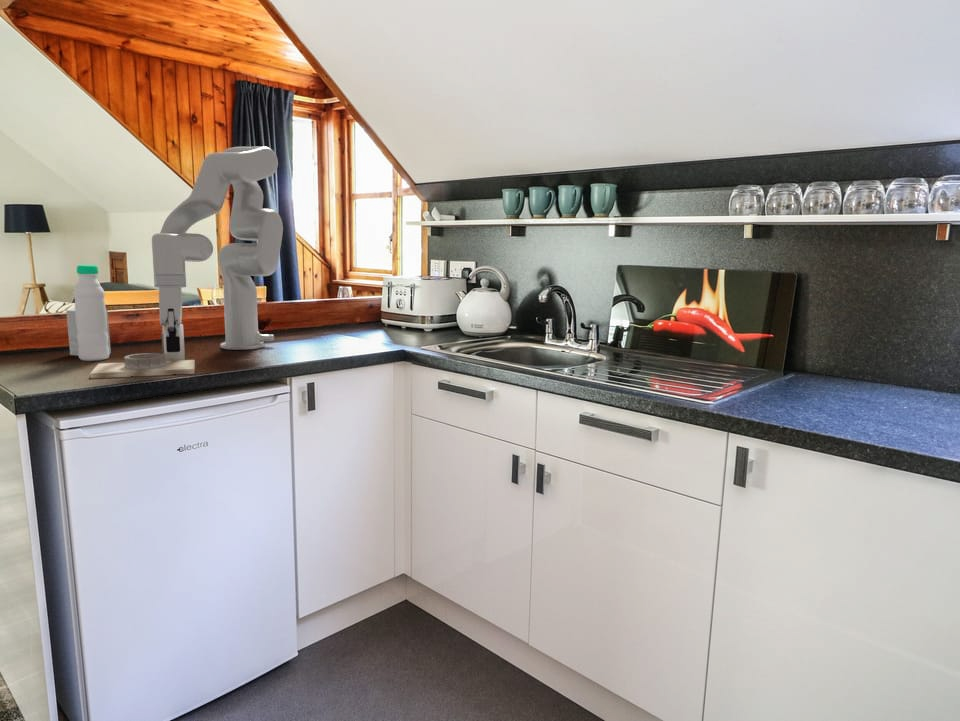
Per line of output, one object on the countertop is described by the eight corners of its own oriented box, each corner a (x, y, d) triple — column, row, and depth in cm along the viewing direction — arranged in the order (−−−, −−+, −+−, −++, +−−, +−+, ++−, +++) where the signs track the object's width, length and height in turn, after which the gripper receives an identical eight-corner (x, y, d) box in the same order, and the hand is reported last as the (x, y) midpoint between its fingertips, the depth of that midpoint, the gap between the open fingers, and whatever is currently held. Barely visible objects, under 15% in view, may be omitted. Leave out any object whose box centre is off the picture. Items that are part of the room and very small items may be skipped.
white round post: (185, 360, 175) (183, 323, 173) (184, 363, 170) (182, 325, 168) (163, 361, 173) (161, 324, 171) (162, 364, 168) (160, 326, 166)
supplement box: (112, 353, 181) (108, 309, 179) (86, 357, 174) (82, 311, 172) (94, 351, 184) (91, 307, 182) (69, 355, 177) (65, 309, 175)
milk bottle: (95, 361, 169) (88, 265, 164) (72, 360, 170) (64, 265, 166) (115, 357, 175) (108, 265, 171) (93, 356, 177) (86, 264, 172)
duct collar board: (194, 364, 169) (194, 350, 169) (194, 373, 157) (193, 358, 157) (99, 368, 161) (97, 353, 160) (90, 378, 149) (89, 362, 148)
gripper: (156, 279, 174) (160, 345, 177) (151, 283, 158) (156, 356, 162) (186, 279, 177) (190, 344, 180) (185, 283, 161) (188, 354, 165)
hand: (174, 349), depth 171 cm, fingers closed on white round post, 5 cm apart
